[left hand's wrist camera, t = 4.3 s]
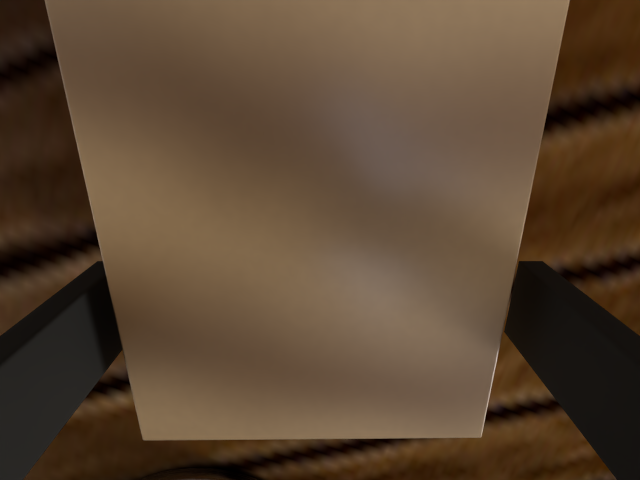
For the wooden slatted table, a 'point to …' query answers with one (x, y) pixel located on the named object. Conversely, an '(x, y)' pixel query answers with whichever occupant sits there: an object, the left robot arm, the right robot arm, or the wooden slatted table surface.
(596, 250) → the wooden slatted table surface
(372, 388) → the cabinet
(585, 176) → the wooden slatted table surface
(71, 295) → the left robot arm
